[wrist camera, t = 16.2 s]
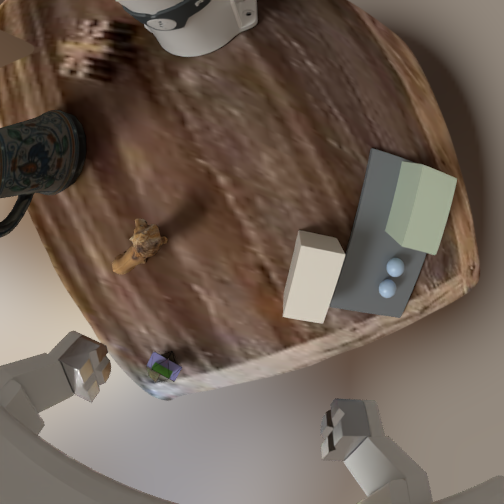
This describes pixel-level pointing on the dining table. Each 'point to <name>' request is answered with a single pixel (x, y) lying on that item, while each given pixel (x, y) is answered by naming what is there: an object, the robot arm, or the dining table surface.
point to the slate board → (376, 246)
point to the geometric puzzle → (162, 367)
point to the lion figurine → (139, 247)
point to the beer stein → (39, 160)
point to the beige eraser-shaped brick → (312, 277)
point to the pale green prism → (420, 207)
